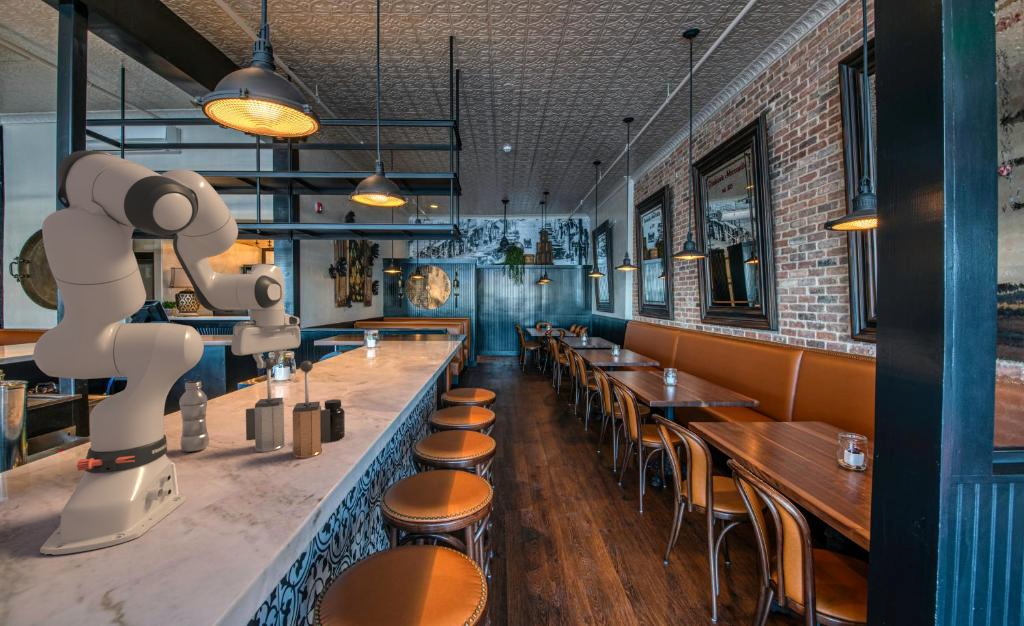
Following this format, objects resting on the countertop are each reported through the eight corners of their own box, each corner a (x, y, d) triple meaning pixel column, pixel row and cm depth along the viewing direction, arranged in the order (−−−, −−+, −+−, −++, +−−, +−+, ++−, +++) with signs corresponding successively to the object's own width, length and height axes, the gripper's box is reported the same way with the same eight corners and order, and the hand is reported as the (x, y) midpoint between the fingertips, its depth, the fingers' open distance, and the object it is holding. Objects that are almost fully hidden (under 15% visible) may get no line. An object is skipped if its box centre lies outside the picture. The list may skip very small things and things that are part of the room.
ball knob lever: (314, 409, 117) (313, 359, 116) (312, 412, 114) (312, 361, 113) (301, 410, 116) (300, 360, 115) (300, 413, 113) (299, 361, 112)
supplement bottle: (316, 440, 125) (315, 402, 125) (332, 433, 132) (331, 397, 131) (334, 443, 123) (334, 404, 123) (349, 436, 130) (349, 399, 129)
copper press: (331, 446, 121) (330, 400, 120) (329, 455, 114) (328, 406, 113) (295, 450, 117) (294, 402, 117) (291, 460, 110) (290, 409, 110)
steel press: (243, 454, 114) (242, 405, 114) (250, 445, 121) (249, 399, 121) (282, 450, 117) (281, 402, 117) (286, 441, 124) (285, 396, 124)
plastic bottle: (197, 454, 114) (195, 384, 113) (174, 454, 114) (172, 384, 113) (214, 446, 120) (213, 379, 120) (192, 446, 121) (191, 379, 120)
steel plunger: (262, 409, 117) (261, 359, 117) (264, 406, 120) (263, 357, 120) (274, 408, 118) (273, 358, 118) (276, 405, 121) (275, 357, 121)
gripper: (242, 321, 107) (243, 373, 108) (303, 318, 127) (304, 362, 127) (225, 321, 109) (226, 372, 110) (288, 318, 129) (289, 361, 129)
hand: (268, 366), depth 119 cm, fingers closed on steel plunger, 3 cm apart
